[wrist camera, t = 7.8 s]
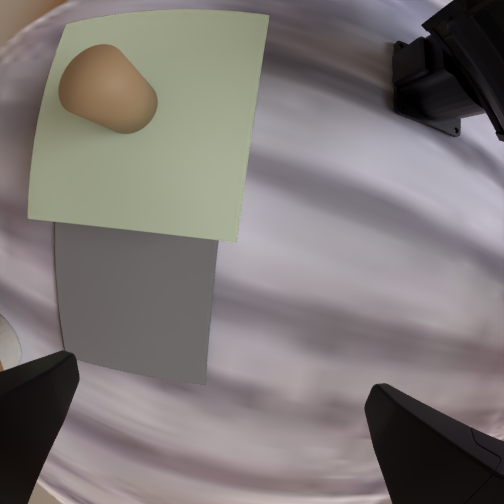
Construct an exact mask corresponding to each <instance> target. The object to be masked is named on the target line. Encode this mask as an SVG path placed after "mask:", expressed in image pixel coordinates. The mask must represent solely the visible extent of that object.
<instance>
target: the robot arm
mask: <svg viewBox="0 0 504 504" xmlns="http://www.w3.org/2000/svg"><path fill="white" fill-rule="evenodd" d="M421 26H422V27H423V28H424V29H425V30H426V31H428V32H429V33H430V34H431V35H429V36H428V37H426V38H424V37H422V36H421V37H419V38H417V39H416V40H414V41H413V42H412V43H410V44H409V45H408V44H406V43H404V42H401V41H397V42H396V43H395V44H394V56H393V57H392V67H393V81H392V82H393V85H394V110H395V112H396V113H397V114H399V115H401V116H404V117H407V118H409V119H412V120H415V121H417V122H420V123H422V124H425V125H427V126H430V127H432V128H434V129H437V130H439V131H441V132H444V133H446V134H448V135H450V136H453V137H458V136H460V129H461V118H465V117H470V116H474V115H479V114H484V113H486V114H487V115H488V117H489V119H490V121H491V123H492V125H493V126H494V128H495V130H496V135H497V137H498V139H499V140H500V141H503V142H504V0H453V1H452V2H450V3H449V4H448V5H446V6H445V7H444V8H442V9H441V10H440V11H438V12H437V13H436V14H435V15H433V16H432V17H431V18H429V19H428V20H427V21H426V22H424V23H423V24H422V25H421ZM399 46H400V47H401V48H402V49H401V48H400V47H399ZM399 105H400V106H401V107H402V110H400V108H399ZM454 129H455V131H454ZM78 383H79V371H78V365H77V360H76V356H75V355H74V354H73V353H71V352H68V351H64V350H62V351H59V352H56V353H53V354H51V355H48V356H45V357H42V358H39V359H36V360H33V361H30V362H27V363H24V364H21V365H18V366H16V367H13V368H10V369H7V370H4V371H0V504H28V502H29V499H30V496H31V494H32V491H33V489H34V486H35V484H36V482H37V479H38V477H39V474H40V472H41V470H42V467H43V465H44V463H45V461H46V458H47V456H48V454H49V452H50V450H51V447H52V445H53V443H54V441H55V439H56V437H57V435H58V433H59V431H60V429H61V427H62V425H63V422H64V420H65V418H66V415H67V412H68V410H69V407H70V404H71V402H72V399H73V396H74V394H75V391H76V388H77V386H78ZM365 414H366V418H367V423H368V427H369V431H370V435H371V440H372V444H373V448H374V451H375V454H376V457H377V460H378V462H379V465H380V468H381V471H382V474H383V477H384V480H385V483H386V486H387V489H388V492H389V495H390V498H391V501H392V504H504V441H502V440H499V439H497V438H494V437H491V436H489V435H487V434H485V433H482V432H480V431H478V430H476V429H474V428H472V427H469V426H467V425H465V424H463V423H461V422H459V421H457V420H455V419H453V418H451V417H449V416H447V415H445V414H443V413H441V412H439V411H437V410H435V409H433V408H432V407H430V406H428V405H426V404H424V403H422V402H420V401H418V400H416V399H414V398H412V397H411V396H409V395H407V394H405V393H403V392H401V391H399V390H398V389H396V388H394V387H392V386H390V385H388V384H386V383H382V384H375V385H374V386H373V387H372V389H371V391H370V394H369V396H368V398H367V401H366V403H365Z"/></svg>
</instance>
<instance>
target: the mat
mask: <svg viewBox="0 0 504 504" xmlns="http://www.w3.org/2000/svg"><path fill="white" fill-rule="evenodd" d="M217 249H218V240H212V239H204V238H195V237H187V236H178V235H170V234H161V233H152V232H144V231H135V230H126V229H117V228H108V227H99V226H90V225H81V224H72V223H63V222H55V262H56V281H57V293H58V304H59V313H60V321H61V328H62V334H63V341H64V347H65V351H68V352H71V353H73V354H74V355H75V356H76V360H80V361H83V362H87V363H91V364H95V365H99V366H103V367H107V368H111V369H115V370H120V371H124V372H129V373H133V374H138V375H143V376H149V377H154V378H160V379H166V380H172V381H178V382H185V383H192V384H200V385H205V383H206V369H207V356H208V343H209V331H210V320H211V308H212V298H213V287H214V277H215V268H216V258H217Z"/></svg>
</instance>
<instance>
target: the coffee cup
mask: <svg viewBox="0 0 504 504" xmlns="http://www.w3.org/2000/svg"><path fill="white" fill-rule="evenodd" d="M21 357H22V351H21V346H20V343H19V340H18V338H17V336H16V334H15V332H14V330H13V328H12V327H11V326H10V324H9V323H8V322H7V321H6V320H5V318H3V317H2V316H1V315H0V371H4V370H7V369H10V368H13V367H16V366H17V365H18V364H19V362H20V361H21Z"/></svg>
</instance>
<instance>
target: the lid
mask: <svg viewBox="0 0 504 504" xmlns="http://www.w3.org/2000/svg"><path fill="white" fill-rule="evenodd" d="M269 16H270V15H263V14H256V13H247V12H237V11H224V10H202V9H175V10H154V11H141V12H131V13H123V14H115V15H109V16H103V17H97V18H91V19H86V20H82V21H77V22H73V23H69V24H66V27H65V29H64V32H63V34H62V37H61V40H60V42H59V45H58V48H57V51H56V54H55V57H54V60H53V63H52V66H51V69H50V73H49V76H48V80H47V83H46V87H45V91H44V95H43V99H42V103H41V108H40V112H39V117H38V122H37V128H36V133H35V139H34V146H33V153H32V161H31V170H30V181H29V195H28V219H35V220H44V221H53V222H63V223H72V224H81V225H90V226H99V227H108V228H117V229H126V230H135V231H144V232H152V233H161V234H170V235H178V236H187V237H195V238H204V239H212V240H221V241H229V242H237V239H238V231H239V223H240V215H241V208H242V200H243V193H244V185H245V178H246V170H247V163H248V156H249V149H250V142H251V134H252V127H253V120H254V114H255V107H256V100H257V93H258V86H259V80H260V73H261V67H262V60H263V54H264V47H265V41H266V35H267V28H268V22H269Z"/></svg>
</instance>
